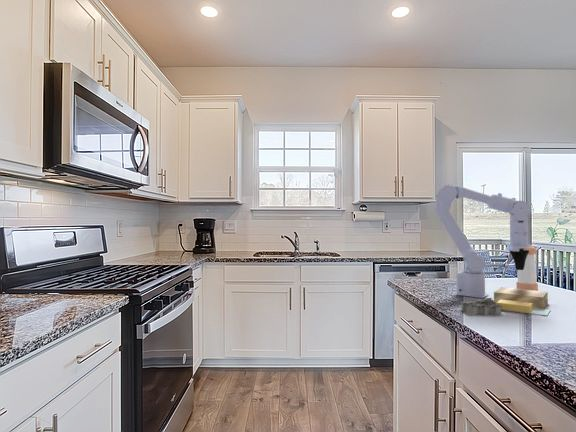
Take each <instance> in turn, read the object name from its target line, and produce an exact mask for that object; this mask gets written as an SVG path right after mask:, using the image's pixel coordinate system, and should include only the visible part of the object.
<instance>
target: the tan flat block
mask: <svg viewBox="0 0 576 432" xmlns="http://www.w3.org/2000/svg"><path fill="white" fill-rule="evenodd" d="M548 293H549V292H548V291H542V290H538V291H534V290H523V289H517V288H513V287H512V288H511V287H500V288H498V289H497V290H494V291H493V301H495V303H497V302H498V301H499V300H500V299H501V300H510V301H518V302H527V303H533V308H539V309H546V307H547V305H548V303H549V302H548V296H549V295H548Z"/></svg>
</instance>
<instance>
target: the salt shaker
mask: <svg viewBox="0 0 576 432" xmlns="http://www.w3.org/2000/svg"><path fill="white" fill-rule="evenodd" d="M523 250H529V253H528V255H527V257H526V261H525V266H524V269H523V270H517V272H516V274H517V275H516V276H517V277H516V278H517V281H516V289H523V290H534V291H539V284H538V281H537V278H538V276H537V269H536V263H535V262H536V257H535V255H536V254H537V252H538V251H537V248H536V247H535V246H532V247H528V248H526V249H523Z"/></svg>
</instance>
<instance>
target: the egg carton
mask: <svg viewBox="0 0 576 432" xmlns="http://www.w3.org/2000/svg"><path fill="white" fill-rule="evenodd" d="M460 304H461V311H462V312H466V313H467V314H470V315H471V314H472V315H478V314H482V315H489V314H493V315H500V314H501V313H502V310H501V307H503V306H501V305H499V304H497V305H496V303H495V301H494V299H492V297H484V298H481V300H475V301H466V302H464V301H460Z"/></svg>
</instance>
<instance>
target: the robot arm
mask: <svg viewBox="0 0 576 432" xmlns="http://www.w3.org/2000/svg"><path fill="white" fill-rule="evenodd" d="M458 199H467V200H472V201H476V202H480V203H483V204H486V205H487V207H488V208H489V209H491V210H494V211H499V212H502V213H505V214H509V234H510V235H509V243H510V244H509V248H512V249H510V250H509V253H510V255H511V256H512V259H513V262H514V263H513V264H514V265H515V269H516V270H517V271H518V270H523V269H524V266H525V261H526V257H527V255H528V253H529V250H523V249H526V248H528V247H533V245H532V244H529V220H528V217H529V216H528V214H529V213H530V211H531V208H530V205H529V204H528V203H527V202H526V201H524V200H517V199H516V198H515V197H508V196H504V195H503V194H502V193H500V192H498V193H493V194H491V195H489V194H485V193H483V192H479V191H476V190H473V189H470V188H467V187H463V186H460V185H455V186H454V185H453V184H444V185H443V186H442V187H440V189H439V190H438V191H437V194H436V196H435V210H434V212H435V214H436V216H437V218H438V219H439V221H440V222H441V224H442V226H443V227H444V229H445V230H446V233H447V234H448V235H449V237H450V238H451V240H452V241H453V243H454V245H455V246H456V248H457V250H458V252H459V254H460V255H461V257H462V259H463V265H464V267H466V268H464V269H463V271H461V270H460V271H458V272H457V276H456V293H455V294H456V296H462V297H471V298H481V299H484V298H487V296H488V295H489V293H486V273H485V272H486V271H485V270H484V269H485V267H486V261H485V259H484V258H483V257H482V256H479V255H478V253H477V252H476V251H475V249H474V248H473V247H472V245H471V243H470V242H469V240H468V239H467V237H466V236H465V234H464V232H463V231H462V229H461V228H460V227H459V224H458V223H457V221H456V220H455V219H454V217H453V215H452V213H451V212H450V209H451V207H452V203H453V202H454V200H458Z"/></svg>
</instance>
